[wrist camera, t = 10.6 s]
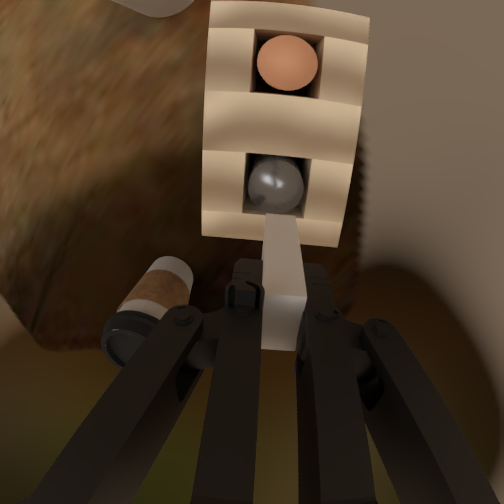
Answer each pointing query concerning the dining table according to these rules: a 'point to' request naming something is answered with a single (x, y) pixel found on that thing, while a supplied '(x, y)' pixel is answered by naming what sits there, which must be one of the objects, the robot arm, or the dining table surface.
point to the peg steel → (275, 183)
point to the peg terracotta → (287, 62)
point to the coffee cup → (146, 307)
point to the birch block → (280, 116)
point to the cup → (156, 6)
